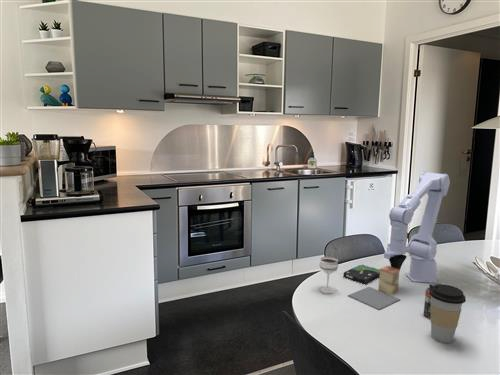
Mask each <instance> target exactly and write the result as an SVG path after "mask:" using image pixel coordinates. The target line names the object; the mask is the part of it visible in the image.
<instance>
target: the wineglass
mask: <svg viewBox="0 0 500 375" xmlns="http://www.w3.org/2000/svg"><path fill="white" fill-rule="evenodd" d="M319 260H320V262H319V268H320V269H321V271H322V272H323V273H325V274H326V287H320V291H321V292H323V293H324V294H325V293H326V294H332V293H334V291H335V290H334V289H333V288H331V287H329V283H330V282H329V280H330V276H331V275H332V274H333V273H335V272H336V271H337V270H338V267H339V263H338V262H339V260H338V259H337V258H336V257H333V256H322V257H320V258H319Z"/></svg>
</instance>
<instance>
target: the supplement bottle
mask: <svg viewBox="0 0 500 375" xmlns="http://www.w3.org/2000/svg"><path fill="white" fill-rule="evenodd" d="M438 284H442V282H438V281H436V282H429V287H427V288H425V294H424V295H425V297H424V306H423V315H424V316H425V317H426V318H428V319H430V320H431V295H430V294H429V292H430V289H432V288H433V286H434V285H438Z"/></svg>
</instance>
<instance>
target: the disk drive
mask: <svg viewBox="0 0 500 375" xmlns="http://www.w3.org/2000/svg"><path fill="white" fill-rule="evenodd" d="M379 276H380V269H379V268H376V267H371V266H367V265H365V264H359V265H357V266H355V267H353V268H351V269H348V270H346V271H344V272H343V276H342V277H343V278H344V277H345V278H344V279H347V278H348V279H347V280H349V279H350V281H352V280H353V282H355V281H356V283H358V282H359V283H358V284H361V283H362V284H361V285H364V284H365V285H364V286H366V285H368V283H369V284H370V283H372V282H374V281H376V280H378V279H379ZM377 278H378V279H377ZM375 279H376V280H375ZM373 280H374V281H373Z"/></svg>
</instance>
